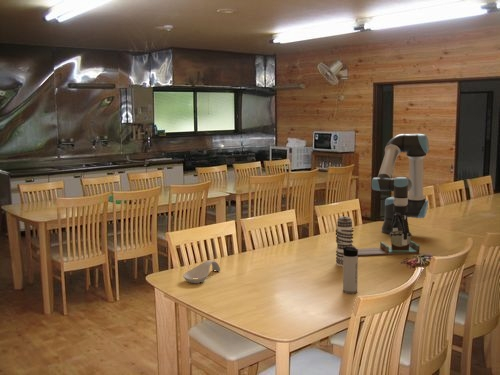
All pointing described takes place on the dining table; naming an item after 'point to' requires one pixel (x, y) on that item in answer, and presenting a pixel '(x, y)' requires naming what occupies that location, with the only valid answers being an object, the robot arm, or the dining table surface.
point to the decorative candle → (343, 237)
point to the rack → (387, 250)
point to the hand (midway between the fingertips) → (399, 242)
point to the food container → (399, 241)
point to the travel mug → (350, 270)
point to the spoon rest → (200, 272)
